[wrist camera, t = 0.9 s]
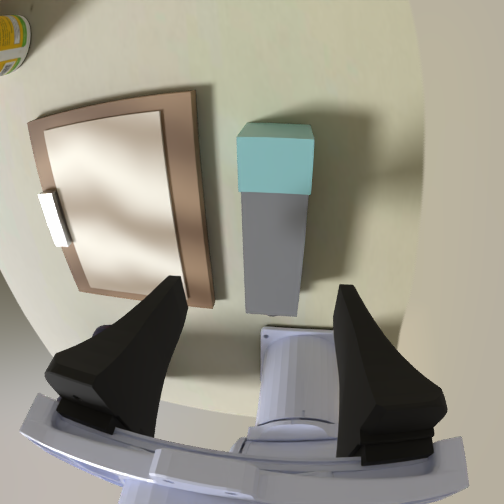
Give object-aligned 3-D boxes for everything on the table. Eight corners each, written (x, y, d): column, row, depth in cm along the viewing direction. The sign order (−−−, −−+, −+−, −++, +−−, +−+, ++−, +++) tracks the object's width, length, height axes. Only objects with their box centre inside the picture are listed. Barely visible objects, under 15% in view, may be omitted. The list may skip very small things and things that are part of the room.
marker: (297, 294, 25) (296, 329, 22) (251, 291, 25) (244, 326, 22) (310, 124, 17) (314, 139, 14) (247, 122, 18) (236, 136, 14)
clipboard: (215, 300, 26) (210, 315, 25) (84, 284, 28) (75, 296, 26) (195, 90, 17) (186, 93, 15) (35, 119, 18) (20, 125, 17)
